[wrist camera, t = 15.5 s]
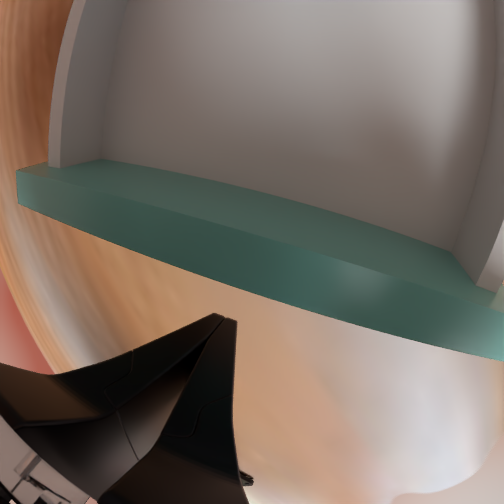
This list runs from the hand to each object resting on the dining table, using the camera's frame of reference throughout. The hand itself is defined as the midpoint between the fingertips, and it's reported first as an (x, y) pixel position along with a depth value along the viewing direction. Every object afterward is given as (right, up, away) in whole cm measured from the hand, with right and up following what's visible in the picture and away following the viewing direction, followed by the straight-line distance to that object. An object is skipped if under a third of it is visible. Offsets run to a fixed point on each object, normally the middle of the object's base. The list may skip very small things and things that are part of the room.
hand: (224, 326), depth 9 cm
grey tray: (+2, +11, -4) cm, 11 cm away
